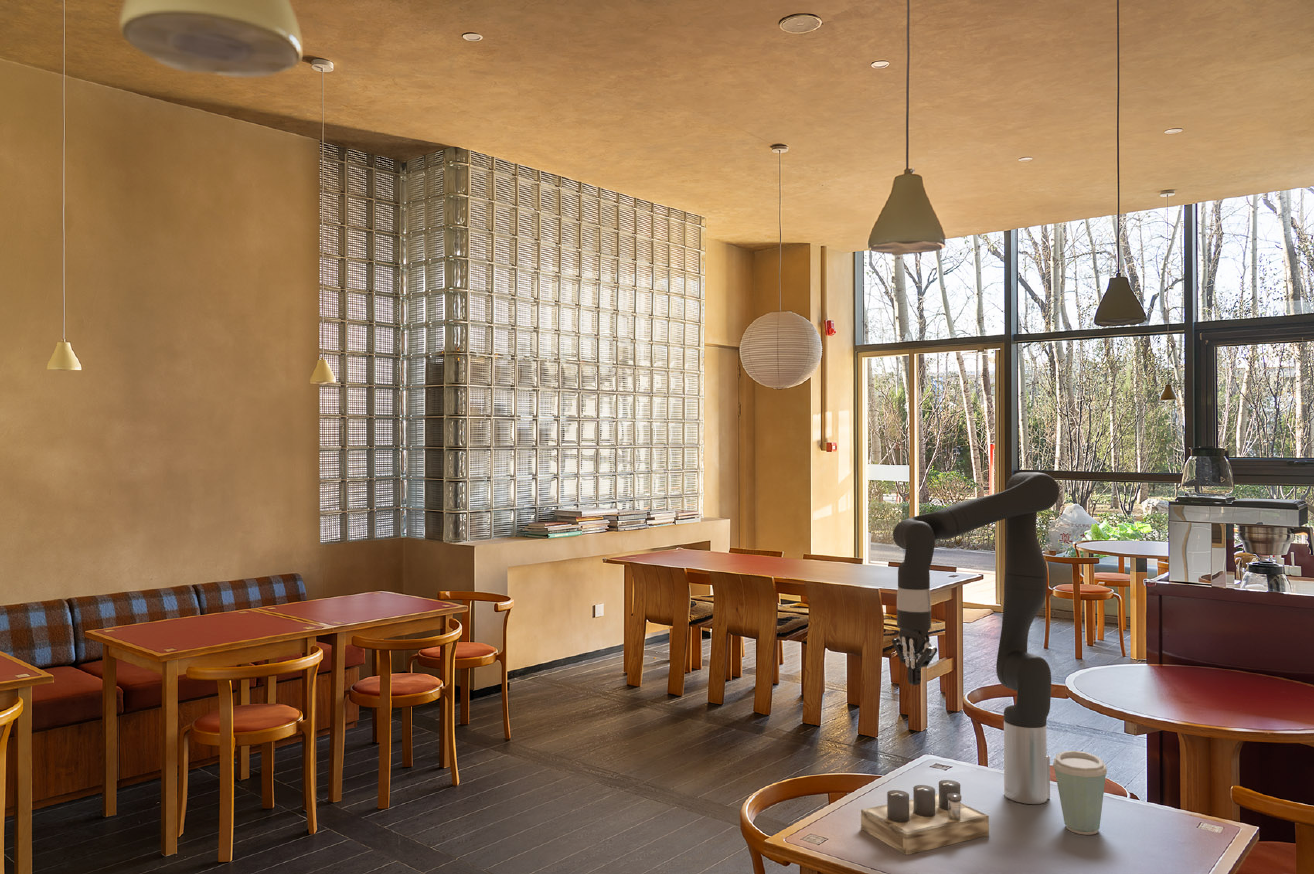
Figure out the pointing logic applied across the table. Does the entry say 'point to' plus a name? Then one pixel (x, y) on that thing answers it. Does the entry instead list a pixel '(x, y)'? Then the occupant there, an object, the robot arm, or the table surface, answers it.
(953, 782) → the knob
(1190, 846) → the table surface
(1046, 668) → the robot arm
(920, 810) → the knob mid
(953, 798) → the capped glass vial
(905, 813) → the knob
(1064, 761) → the disposable coffee cup
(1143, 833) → the table surface
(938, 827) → the mount
